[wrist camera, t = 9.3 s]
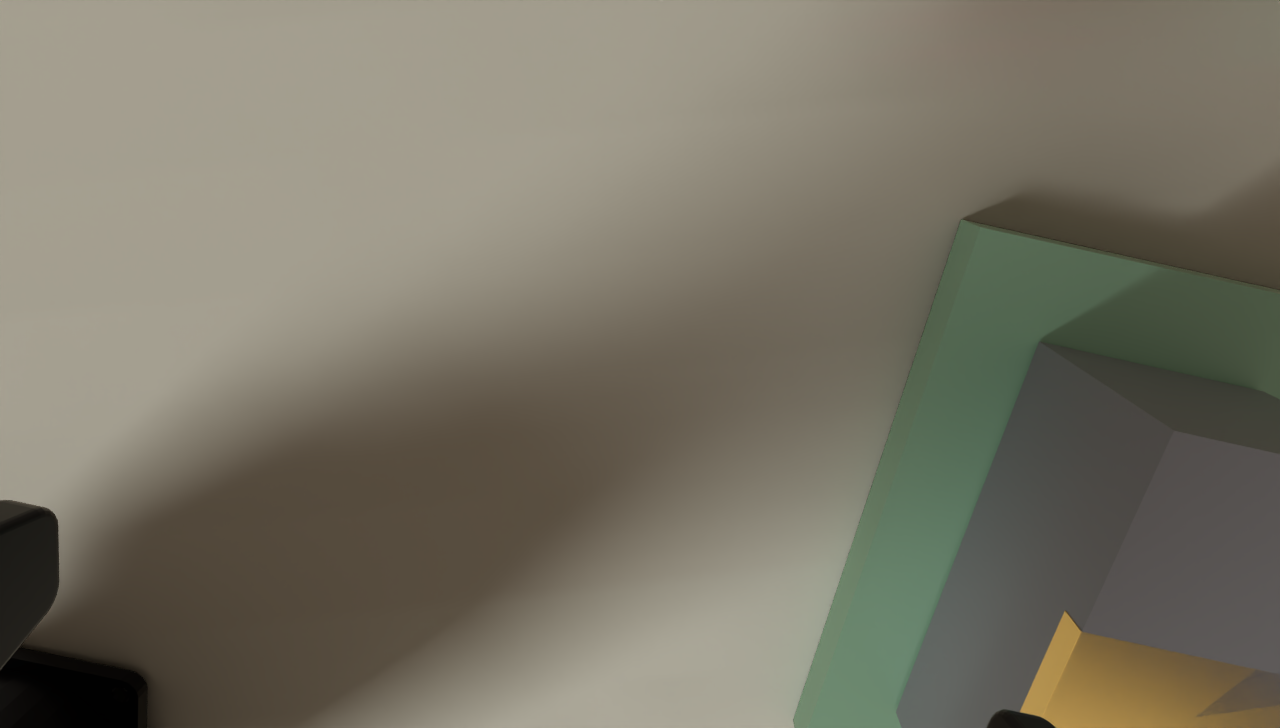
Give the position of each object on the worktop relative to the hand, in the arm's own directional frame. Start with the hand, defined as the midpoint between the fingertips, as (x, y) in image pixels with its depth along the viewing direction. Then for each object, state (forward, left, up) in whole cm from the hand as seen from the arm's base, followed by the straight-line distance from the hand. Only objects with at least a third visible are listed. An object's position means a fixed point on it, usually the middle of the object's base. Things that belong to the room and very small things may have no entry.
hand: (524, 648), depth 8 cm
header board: (+11, -3, -12) cm, 17 cm away
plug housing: (+11, -3, -11) cm, 16 cm away
